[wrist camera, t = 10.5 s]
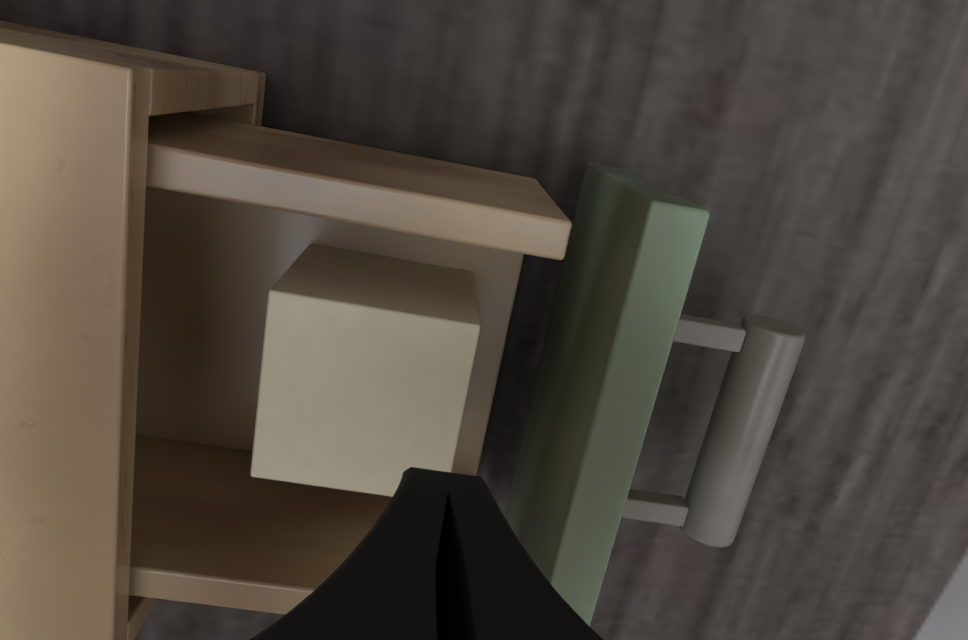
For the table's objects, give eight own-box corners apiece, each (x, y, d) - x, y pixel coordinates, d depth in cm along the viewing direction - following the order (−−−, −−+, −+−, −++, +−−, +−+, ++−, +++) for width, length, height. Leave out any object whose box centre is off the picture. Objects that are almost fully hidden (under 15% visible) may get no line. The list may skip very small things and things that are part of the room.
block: (475, 271, 19) (481, 325, 15) (446, 418, 21) (445, 505, 16) (309, 242, 19) (268, 290, 15) (291, 394, 20) (249, 477, 16)
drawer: (771, 196, 20) (921, 251, 14) (664, 533, 24) (743, 701, 17) (128, 71, 18) (-46, 66, 12) (116, 455, 22) (-25, 611, 15)
